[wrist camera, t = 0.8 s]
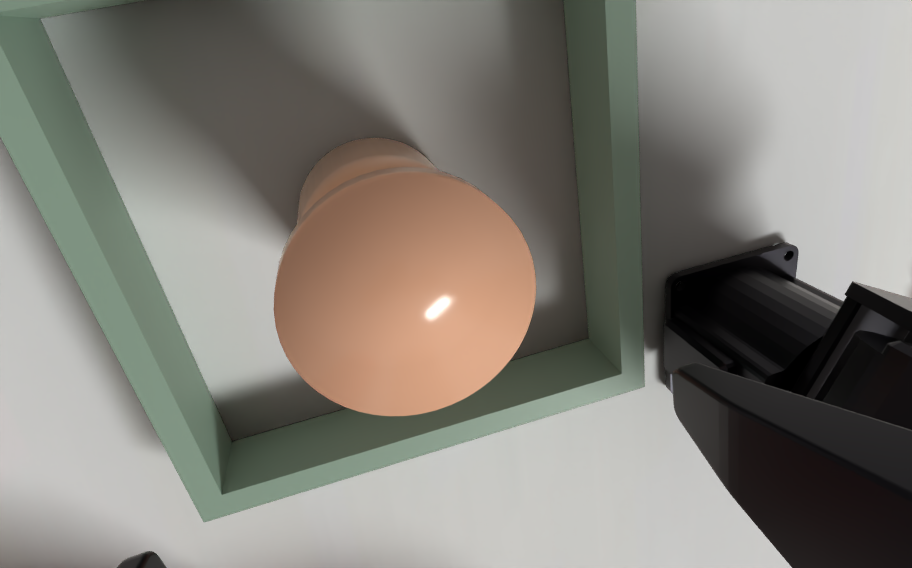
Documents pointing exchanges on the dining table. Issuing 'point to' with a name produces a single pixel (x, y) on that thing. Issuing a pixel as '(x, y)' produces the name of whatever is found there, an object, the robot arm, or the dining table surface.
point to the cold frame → (347, 431)
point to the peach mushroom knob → (399, 282)
